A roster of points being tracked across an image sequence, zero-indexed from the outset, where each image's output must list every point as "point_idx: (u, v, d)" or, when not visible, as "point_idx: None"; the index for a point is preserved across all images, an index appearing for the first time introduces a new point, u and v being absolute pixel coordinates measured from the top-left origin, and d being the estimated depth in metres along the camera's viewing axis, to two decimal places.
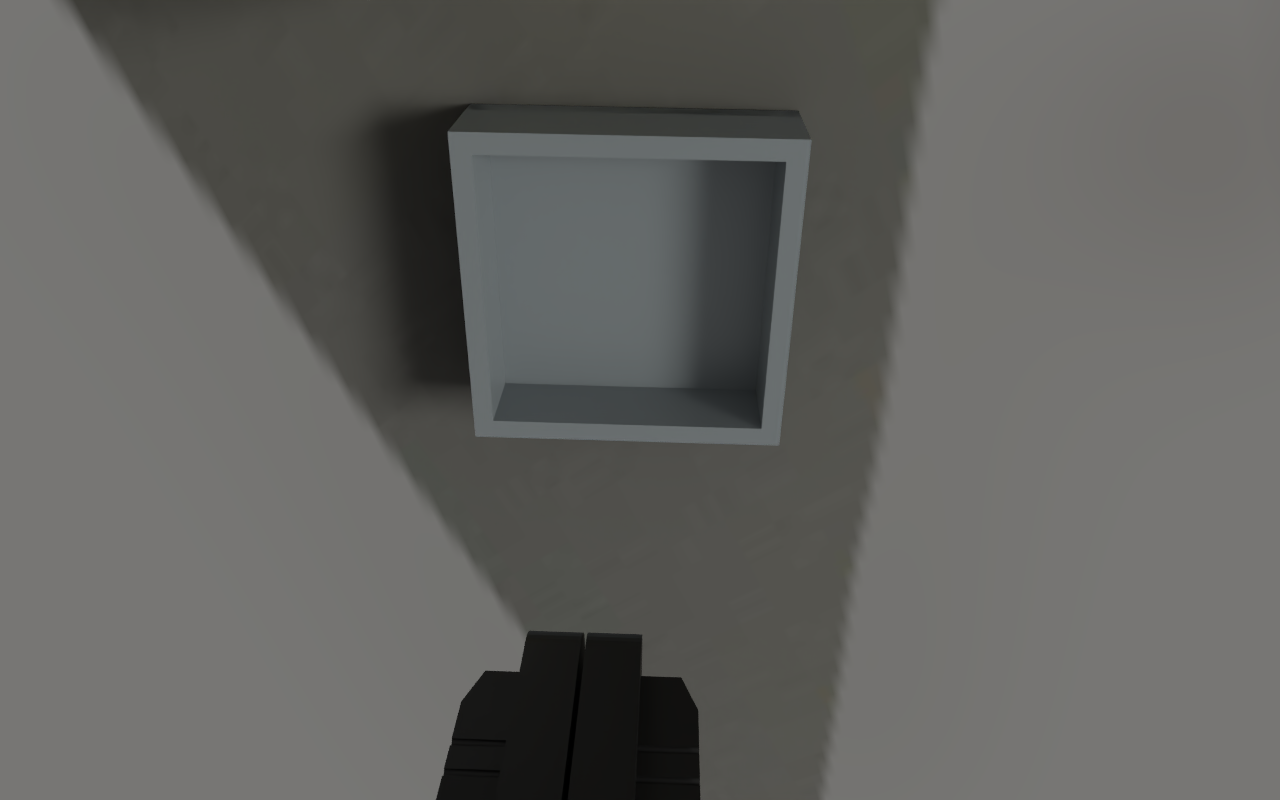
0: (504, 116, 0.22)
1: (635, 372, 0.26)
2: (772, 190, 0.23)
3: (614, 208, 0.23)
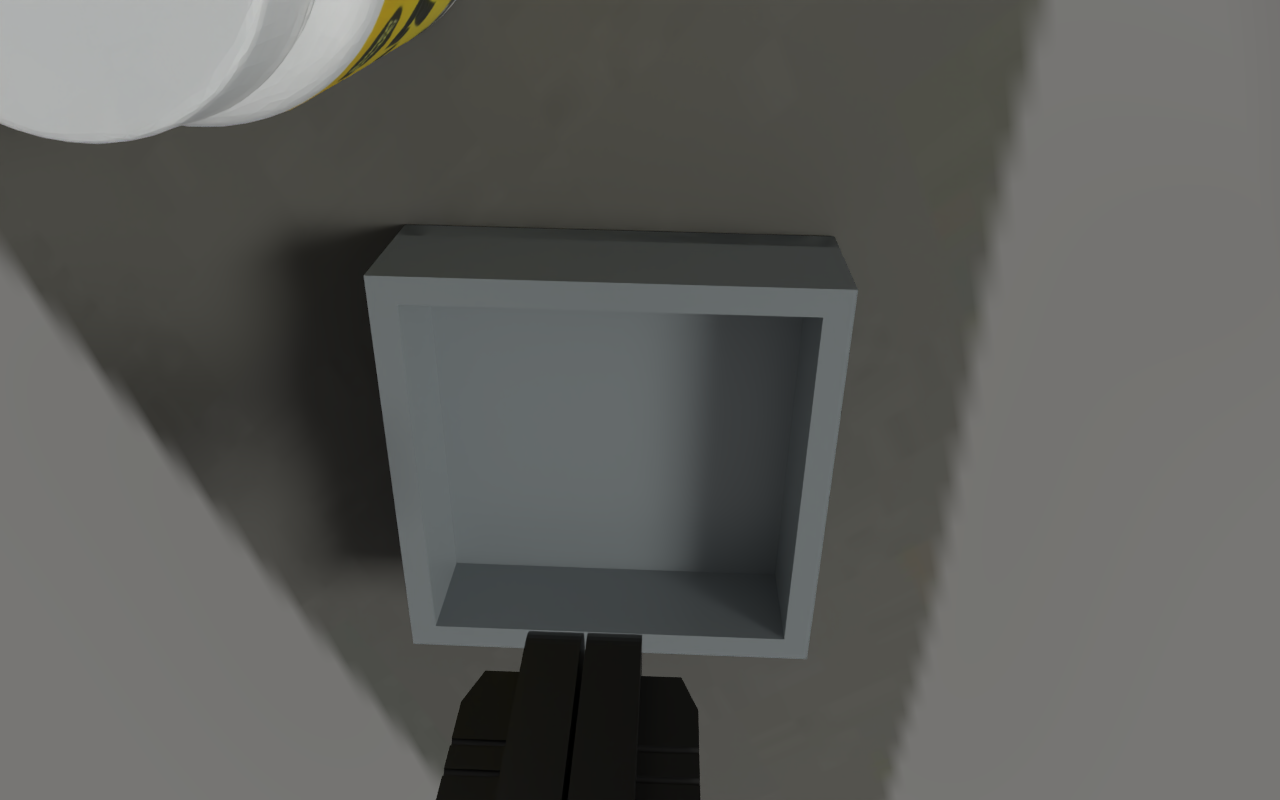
0: (446, 247, 0.16)
1: (622, 551, 0.20)
2: (800, 337, 0.18)
3: (593, 357, 0.18)
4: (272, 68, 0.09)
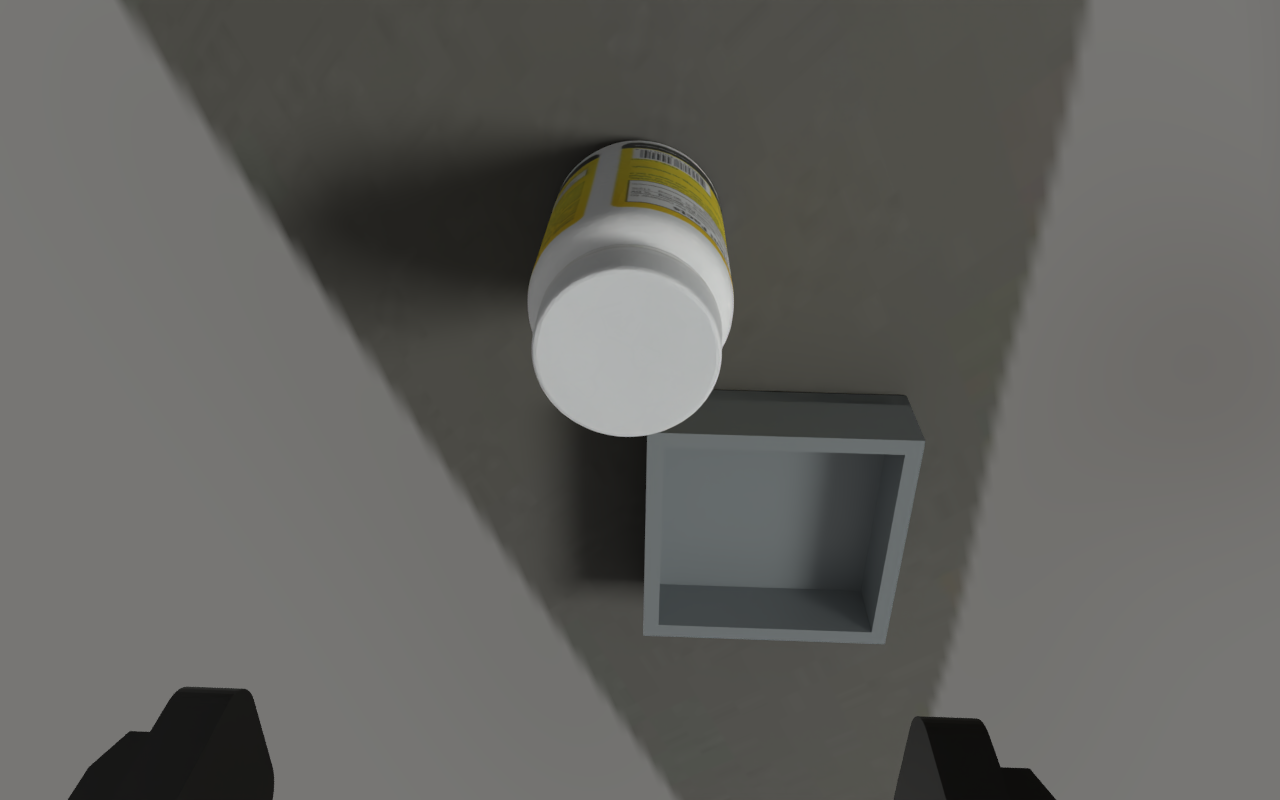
0: None
1: (765, 577, 0.32)
2: (884, 454, 0.29)
3: (759, 464, 0.30)
4: None
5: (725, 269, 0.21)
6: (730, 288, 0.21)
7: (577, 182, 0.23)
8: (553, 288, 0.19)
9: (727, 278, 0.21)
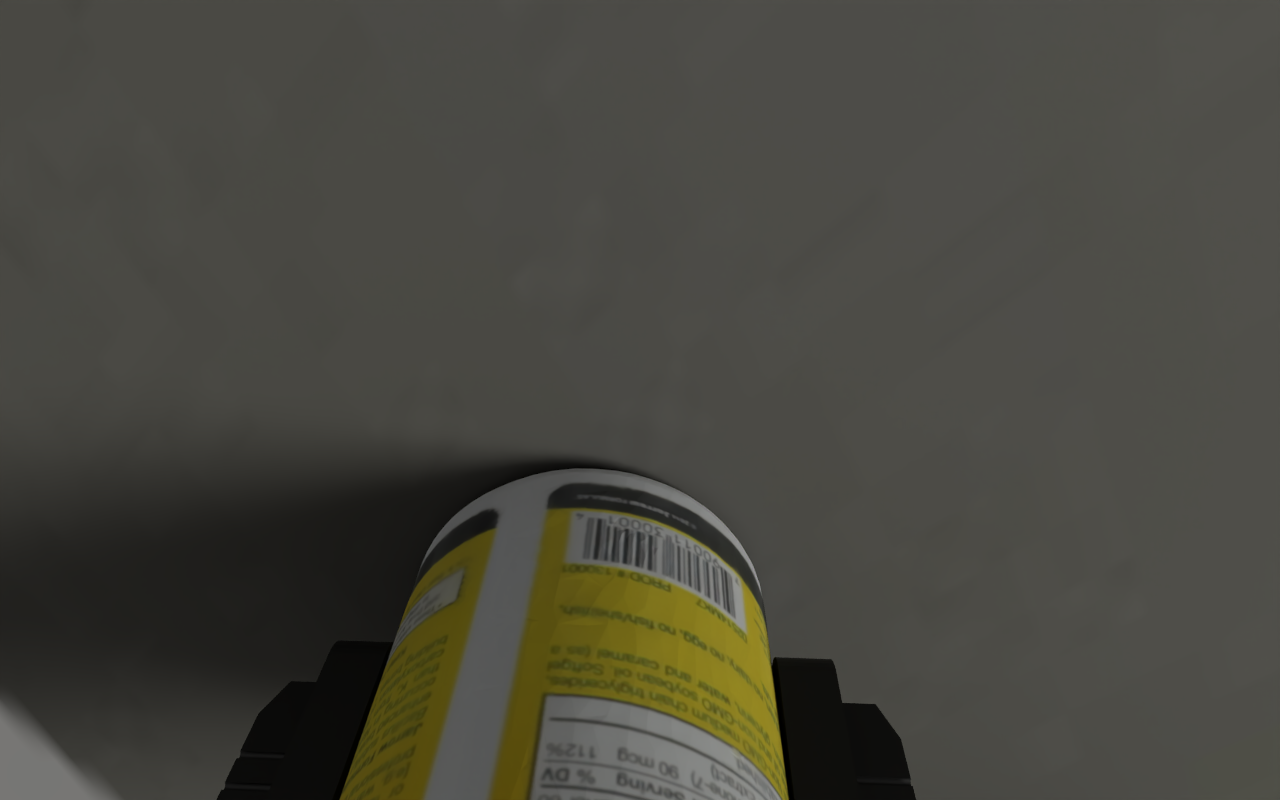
0: None
1: None
2: None
3: None
4: None
5: None
6: None
7: (436, 620, 0.10)
8: None
9: None
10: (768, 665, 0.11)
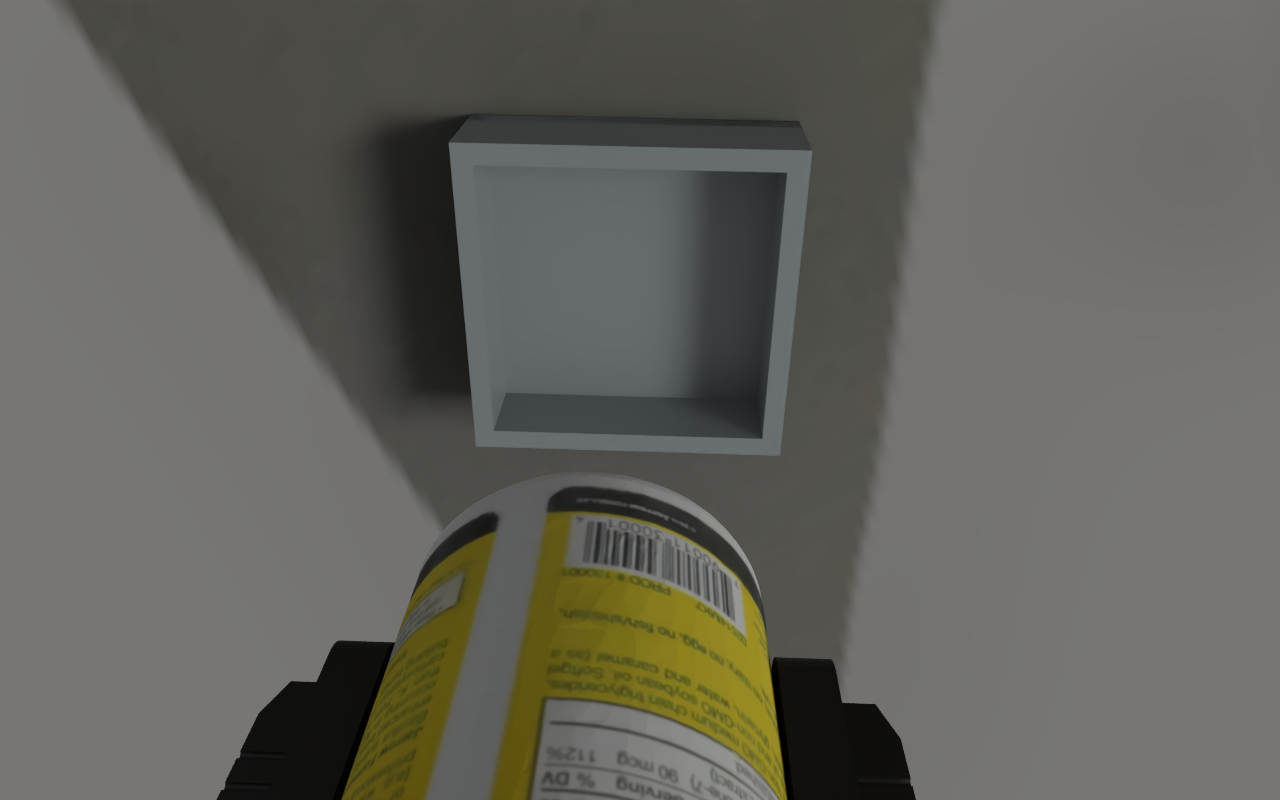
0: (505, 127, 0.22)
1: (636, 381, 0.26)
2: (773, 200, 0.23)
3: (615, 218, 0.23)
4: None
5: None
6: None
7: (436, 623, 0.10)
8: None
9: None
10: (767, 668, 0.11)
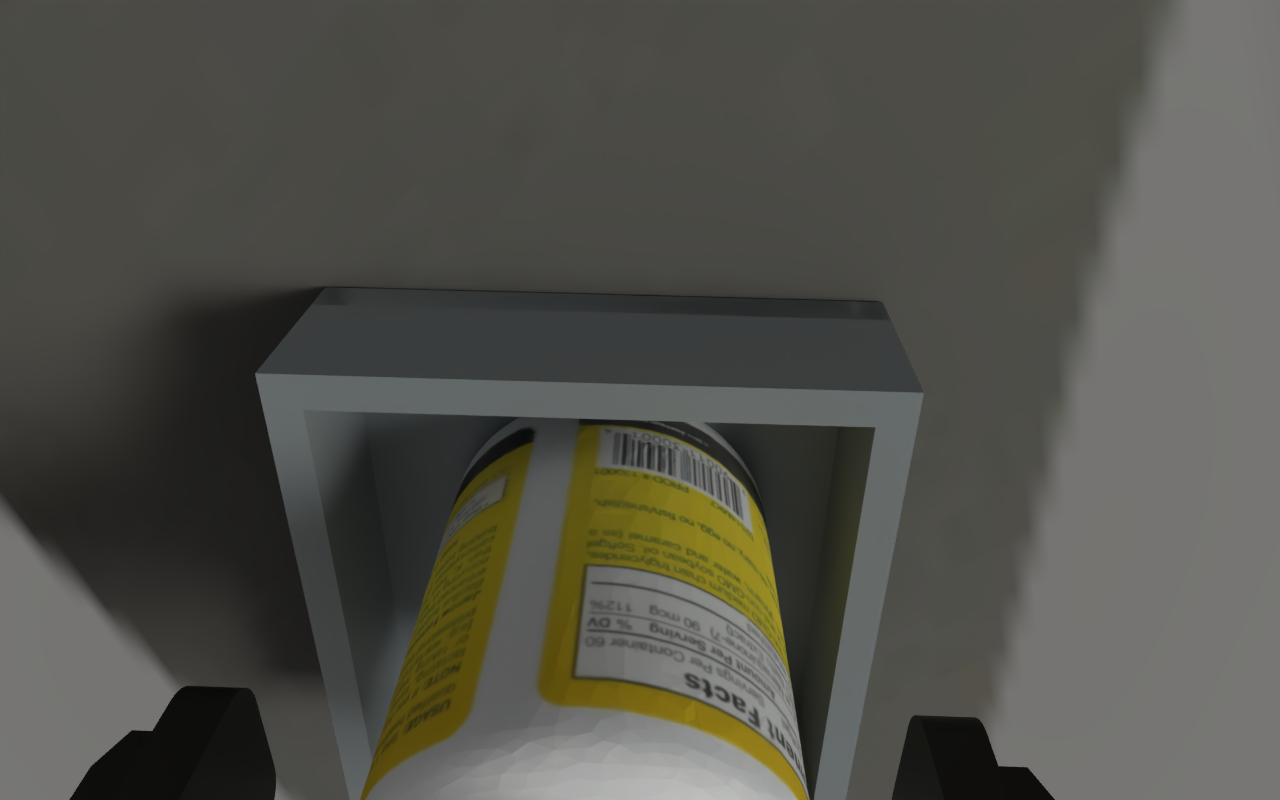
0: (373, 323, 0.12)
1: None
2: (836, 430, 0.14)
3: None
4: None
5: None
6: None
7: (484, 515, 0.12)
8: None
9: None
10: (770, 564, 0.12)
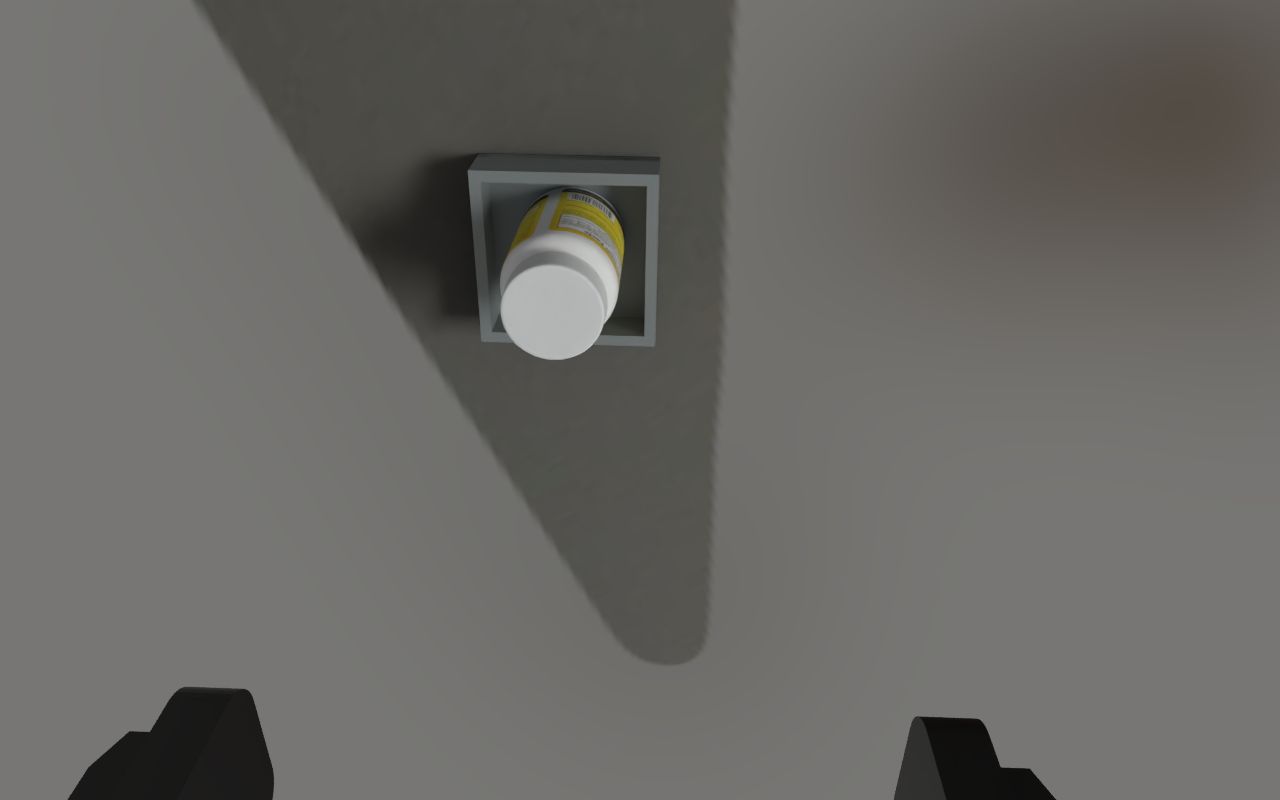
0: (498, 161, 0.40)
1: None
2: (647, 201, 0.41)
3: None
4: None
5: (612, 267, 0.37)
6: (615, 278, 0.37)
7: (533, 212, 0.39)
8: (513, 274, 0.35)
9: (613, 272, 0.37)
10: (620, 236, 0.40)
